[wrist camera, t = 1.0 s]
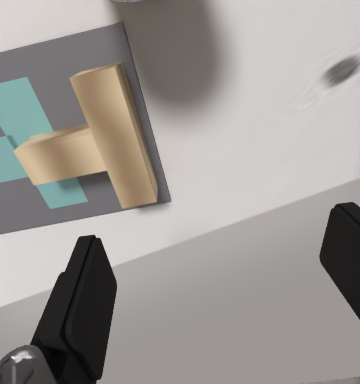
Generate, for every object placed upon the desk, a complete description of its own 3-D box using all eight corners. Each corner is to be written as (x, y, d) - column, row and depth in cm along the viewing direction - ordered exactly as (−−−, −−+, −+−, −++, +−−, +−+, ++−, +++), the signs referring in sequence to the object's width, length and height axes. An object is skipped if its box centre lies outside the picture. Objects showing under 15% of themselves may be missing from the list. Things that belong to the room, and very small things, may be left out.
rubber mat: (122, 22, 23) (121, 22, 23) (170, 199, 34) (170, 201, 34) (-152, 90, 25) (-155, 90, 25) (-25, 237, 36) (-26, 238, 36)
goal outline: (28, 76, 25) (26, 76, 25) (88, 200, 34) (88, 201, 33) (-91, 104, 26) (-94, 105, 26) (-4, 218, 35) (-6, 219, 34)
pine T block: (121, 61, 25) (115, 67, 21) (157, 183, 32) (156, 201, 29) (5, 89, 26) (-19, 98, 22) (66, 201, 33) (55, 221, 30)
